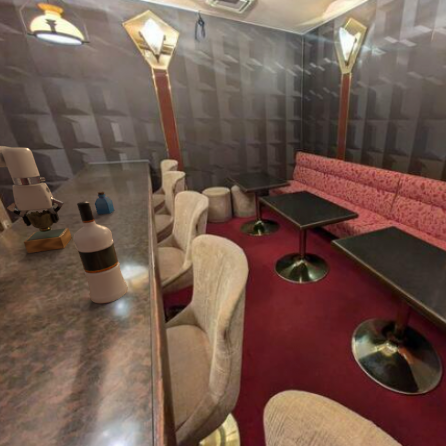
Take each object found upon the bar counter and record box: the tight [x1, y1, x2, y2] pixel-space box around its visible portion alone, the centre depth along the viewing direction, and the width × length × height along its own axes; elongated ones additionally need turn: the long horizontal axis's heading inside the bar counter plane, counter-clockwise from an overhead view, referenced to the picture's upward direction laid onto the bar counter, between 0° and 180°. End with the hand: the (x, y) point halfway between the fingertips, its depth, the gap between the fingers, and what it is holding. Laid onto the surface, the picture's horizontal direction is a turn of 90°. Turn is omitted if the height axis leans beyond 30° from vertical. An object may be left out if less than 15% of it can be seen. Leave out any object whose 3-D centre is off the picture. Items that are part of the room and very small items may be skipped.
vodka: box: [72, 201, 129, 304], centre depth 71 cm, size 9×9×30 cm
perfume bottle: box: [94, 191, 115, 215], centre depth 143 cm, size 6×6×12 cm
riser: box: [23, 227, 73, 254], centre depth 104 cm, size 11×11×5 cm
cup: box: [26, 209, 54, 232], centre depth 101 cm, size 8×7×8 cm
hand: (43, 223), depth 101 cm, fingers closed on cup, 7 cm apart
